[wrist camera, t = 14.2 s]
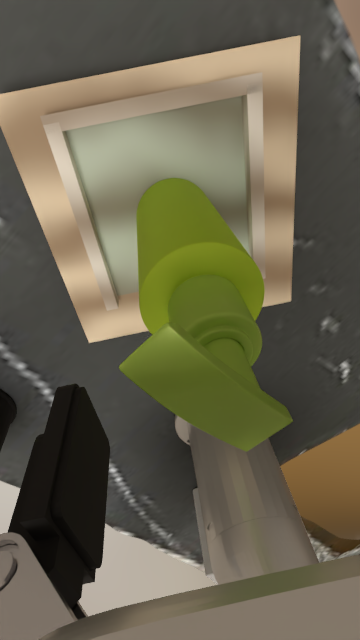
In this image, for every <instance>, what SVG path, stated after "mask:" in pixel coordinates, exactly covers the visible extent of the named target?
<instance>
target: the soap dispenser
mask: <svg viewBox="0 0 360 640" xmlns="http://www.w3.org/2000/svg"><path fill="white" fill-rule="evenodd" d="M136 218H137V250H138V282H139V307H140V313H141V317H142V320H143V322H144V324H145V326H146V327H147V329H148V330H149V332H150V333H151V334H152V336H151V337H149V338H148V339H147V340H146V341H145V342H144V343H143V344H142V345H141V346H140V347H139V348H137V349H136V350H135V351H134V352H133V353H132V354H131V355H130V356H129V357H128V358H127V359H126V360H124V361H123V362H122V363H121V364H120V366H119V369H120V370H121V371H122V372H123V373H124V374H125V375H126V376H127V377H128V378H129V379H130V380H132V381H133V382H134V383H135V384H136V385H138V386H139V387H140V388H141V389H142V390H144V391H145V392H146V393H147V394H149V395H150V396H151V397H152V398H154V399H155V400H156V401H158V402H159V403H160V404H161V405H163V406H164V407H166V408H167V409H168V410H170V411H171V412H173V413H174V414H176V415H177V416H179V417H180V418H182V419H183V420H185V421H187V422H188V423H190V424H192V425H193V426H195V427H197V428H199V429H200V430H202V431H204V432H206V433H208V434H210V435H212V436H214V437H216V438H218V439H220V440H222V441H224V442H226V443H228V444H231V445H233V446H235V447H237V448H239V449H241V450H244V451H246V452H247V451H249V450H250V449H252V448H253V447H255V446H256V445H258V444H259V443H261V442H262V441H264V440H266V439H267V438H269V437H270V436H272V435H273V434H275V433H276V432H278V431H279V430H281V429H282V428H284V427H285V426H287V425H289V424H290V423H292V422H293V420H292V418H291V416H290V414H289V412H288V410H287V408H286V407H285V406H284V405H282V404H281V403H279V402H278V401H277V400H275V399H274V398H272V397H271V396H269V395H268V394H267V393H265V392H264V391H262V390H261V389H260V387H259V384H258V382H257V380H256V377H255V375H254V373H253V371H252V368H251V366H252V365H253V364H254V363H255V361H256V360H257V358H258V356H259V354H260V352H261V348H262V336H261V332H260V330H259V328H258V326H257V324H256V322H255V320H256V319H257V317H258V315H259V313H260V311H261V308H262V305H263V301H264V294H265V288H264V281H263V277H262V274H261V272H260V270H259V268H258V266H257V265H256V263H255V262H254V260H253V259H252V258H251V256H250V255H249V254H248V252H247V251H246V250H245V248H244V247H243V245H242V244H241V243H240V241H239V240H238V239H237V237H236V236H235V235H234V233H233V232H232V231H231V229H230V228H229V226H228V225H227V224H226V222H225V221H224V220H223V218H222V217H221V216H220V214H219V213H218V211H217V210H216V209H215V207H214V206H213V205H212V203H211V202H210V201H209V199H208V198H207V196H206V195H205V194H204V192H203V191H202V190H201V189H200V188H199V187H198V186H197V185H195V184H194V183H192V182H190V181H188V180H185V179H180V178H169V179H164V180H161V181H159V182H157V183H155V184H154V185H152V186H151V187H150V188H149V189H148V190H147V191H146V192H145V193H144V194H143V196H142V198H141V200H140V202H139V204H138V208H137V215H136Z"/></svg>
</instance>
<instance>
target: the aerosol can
mask: <svg viewBox="0 0 360 640" xmlns="http://www.w3.org/2000/svg"><path fill="white" fill-rule="evenodd" d="M15 417H16V406H15V404H14V402H13V400H12V399H11V398H10V397H9V396H8V395H7V394H6V393H4V392H3V391H1V390H0V451H1V448H2V445H3V443H4V440H5V437H6V435H7V432H8V429H9V426H10V424H11V423H12V422H13V420H14V419H15Z"/></svg>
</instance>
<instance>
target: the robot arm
mask: <svg viewBox="0 0 360 640" xmlns="http://www.w3.org/2000/svg"><path fill="white" fill-rule="evenodd" d="M174 420H175V428H176V432H177V434H178V436H179V437H180V439H181V440H183V441H184V442H185V443H186V444H188V445H190V447H191V452H192V458H193V464H194V470H195V475H196V481H197V487H198V493H199V499H200V504H201V510H202V516H203V522H204V528H205V533H206V539H207V545H208V551H209V556H210V562H211V567H212V571H213V574H214V576H215V579H216V581H217V583H218V585H215V586H211V587H206V588H202V589H198V590H192V591H188V592H184V593H179V594H174V595H170V596H166V597H162V598H158V599H153V600H149V601H146V602H141V603H137V604H133V605H128V606H124V607H121V608H116V609H112V610H109V611H106V612H102V613H99V614H96V615H92V616H89V617H88V616H87V614H86V613H85V611H84V610H83V608H82V606H81V605H80V603H79V602H78V600H79V599H80V598H81V593H82V585H83V584H85V583H91V582H95V570H96V568H100V567H101V564H102V557H103V541H104V528H105V514H106V499H107V485H108V471H109V456H110V446H109V441H108V438H107V436H106V434H105V431H104V429H103V427H102V425H101V423H100V420H99V418H98V416H97V414H96V411H95V409H94V407H93V405H92V402H91V400H90V398H89V396H88V394H87V391H86V389H85V388H84V387H79V386H78V385H77V384H72V385H67V386H62V387H58V388H57V390H56V393H55V396H54V400H53V403H52V407H51V411H50V414H49V418H48V422H47V425H46V429H45V432H44V434H41V435H39V436H38V437H37V438H36V440H35V442H34V446H33V449H32V452H31V456H30V459H29V462H28V466H27V469H26V472H25V476H24V479H23V482H22V486H21V489H20V493H19V496H18V499H17V503H16V506H15V509H14V513H13V516H12V519H11V523H10V526H9V530H8V533H3V534H0V640H360V554H359V555H354V556H350V557H345V558H340V559H335V560H331V561H326V562H321V563H319V561H318V558H317V556H316V554H315V551H314V549H313V547H312V544H311V542H310V539H309V537H308V534H307V532H306V529H305V527H304V524H303V522H302V519H301V517H300V514H299V512H298V510H297V507H296V505H295V502H294V500H293V497H292V495H291V492H290V490H289V488H288V485H287V482H286V480H285V478H284V475H283V473H282V470H281V468H280V465H279V463H278V460H277V458H276V455H275V453H274V450H273V448H272V446H271V443H270V441H269V438H267V439H266V440H264V441H262V442H261V443H259V444H258V445H256V446H255V447H253V448H252V449H250V450H249V451H247V452H246V451H244V450H241V449H239V448H237V447H235V446H233V445H231V444H228V443H226V442H224V441H222V440H220V439H218V438H216V437H214V436H212V435H210V434H208V433H206V432H204V431H202V430H200V429H199V428H197V427H195V426H193V425H192V424H190V423H188V422H187V421H185V420H183V419H182V418H180V417H179V416H177V415H176V414H175V419H174Z"/></svg>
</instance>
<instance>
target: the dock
mask: <svg viewBox="0 0 360 640" xmlns="http://www.w3.org/2000/svg"><path fill="white" fill-rule="evenodd" d="M299 62H300V35H299V36H294V37H289V38H284V39H279V40H274V41H269V42H264V43H259V44H254V45H248V46H243V47H238V48H233V49H228V50H223V51H218V52H213V53H208V54H203V55H197V56H192V57H187V58H182V59H177V60H172V61H167V62H162V63H157V64H152V65H147V66H141V67H136V68H131V69H126V70H121V71H116V72H111V73H106V74H101V75H96V76H90V77H85V78H80V79H75V80H70V81H65V82H60V83H55V84H50V85H45V86H40V87H34V88H29V89H24V90H19V91H14V92H9V93H4V94H0V126H1V128H2V131H3V133H4V136H5V138H6V141H7V143H8V146H9V148H10V150H11V153H12V155H13V158H14V160H15V163H16V165H17V168H18V170H19V172H20V175H21V177H22V180H23V182H24V185H25V187H26V190H27V192H28V195H29V197H30V199H31V202H32V204H33V207H34V209H35V212H36V214H37V217H38V219H39V221H40V224H41V226H42V229H43V231H44V234H45V236H46V239H47V241H48V243H49V246H50V248H51V251H52V253H53V256H54V258H55V261H56V263H57V265H58V268H59V270H60V273H61V275H62V278H63V280H64V283H65V285H66V287H67V290H68V292H69V295H70V297H71V300H72V302H73V305H74V307H75V309H76V312H77V314H78V317H79V319H80V322H81V324H82V327H83V329H84V331H85V334H86V336H87V339H88V341H89V343H91V342H96V341H101V340H106V339H111V338H115V337H120V336H125V335H130V334H135V333H140V332H145V331H149V330H148V329H147V327H146V326H145V324H144V322H143V320H142V317H141V313H140V307H139V282H138V250H137V218H136V215H137V208H138V204H139V202H140V200H141V198H142V196H143V194H144V193H145V192H146V191H147V190H148V189H149V188H150V187H151V186H152V185H154V184H155V183H157V182H159V181H161V180H164V179H169V178H180V179H185V180H188V181H190V182H192V183H194V184H195V185H197V186H198V187H199V188H200V189H201V190H202V191H203V192H204V194H205V195H206V196H207V198H208V199H209V201H210V202H211V203H212V205H213V206H214V207H215V209H216V210H217V211H218V213H219V214H220V216H221V217H222V218H223V220H224V221H225V222H226V224H227V225H228V226H229V228H230V229H231V231H232V232H233V233H234V235H235V236H236V237H237V239H238V240H239V241H240V243H241V244H242V245H243V247H244V248H245V250H246V251H247V252H248V254H249V255H250V256H251V258H252V259H253V260H254V262H255V263H256V265H257V266H258V268H259V270H260V272H261V274H262V277H263V281H264V288H265V294H264V301H263V305H262V307H266V306H271V305H276V304H280V303H285V302H290V301H291V287H292V259H293V231H294V203H295V175H296V146H297V118H298V90H299Z"/></svg>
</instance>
